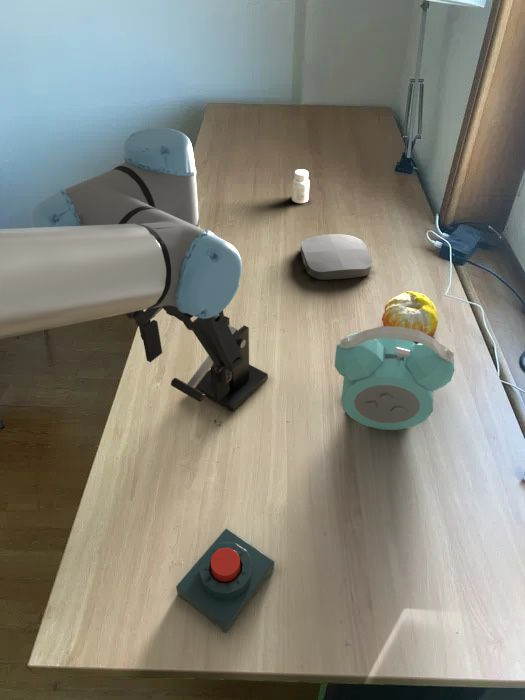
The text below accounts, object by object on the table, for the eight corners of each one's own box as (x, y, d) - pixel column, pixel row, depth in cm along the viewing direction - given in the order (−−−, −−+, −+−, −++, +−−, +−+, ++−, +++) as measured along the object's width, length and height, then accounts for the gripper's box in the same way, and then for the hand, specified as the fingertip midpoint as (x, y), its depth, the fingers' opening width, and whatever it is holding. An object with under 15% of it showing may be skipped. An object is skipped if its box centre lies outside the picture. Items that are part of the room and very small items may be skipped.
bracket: (233, 412, 94) (230, 356, 85) (192, 389, 98) (186, 333, 89) (268, 378, 100) (269, 323, 91) (228, 358, 104) (225, 302, 95)
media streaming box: (375, 277, 123) (377, 266, 121) (309, 282, 122) (310, 271, 120) (357, 242, 134) (359, 231, 132) (297, 246, 132) (297, 235, 130)
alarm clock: (432, 401, 96) (461, 309, 83) (435, 445, 89) (467, 352, 76) (330, 388, 98) (342, 296, 85) (325, 430, 91) (337, 337, 78)
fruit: (375, 307, 115) (393, 276, 109) (422, 321, 116) (441, 291, 111) (379, 342, 106) (399, 310, 101) (429, 357, 108) (451, 326, 103)
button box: (226, 633, 68) (225, 619, 65) (177, 594, 71) (174, 579, 69) (274, 569, 74) (275, 554, 71) (226, 536, 77) (225, 520, 75)
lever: (202, 405, 87) (197, 398, 85) (173, 388, 90) (168, 381, 88) (249, 341, 92) (246, 333, 90) (221, 327, 94) (217, 319, 92)
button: (227, 588, 68) (227, 581, 67) (205, 571, 70) (204, 564, 69) (245, 565, 70) (245, 558, 69) (223, 549, 72) (223, 542, 71)
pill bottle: (311, 200, 149) (313, 172, 144) (300, 205, 147) (301, 177, 142) (299, 194, 152) (301, 166, 146) (288, 199, 149) (289, 171, 144)
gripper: (269, 276, 68) (267, 395, 83) (125, 215, 79) (145, 330, 93) (231, 307, 64) (236, 428, 78) (83, 238, 74) (111, 355, 89)
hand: (187, 375), depth 86 cm, fingers open, 13 cm apart
